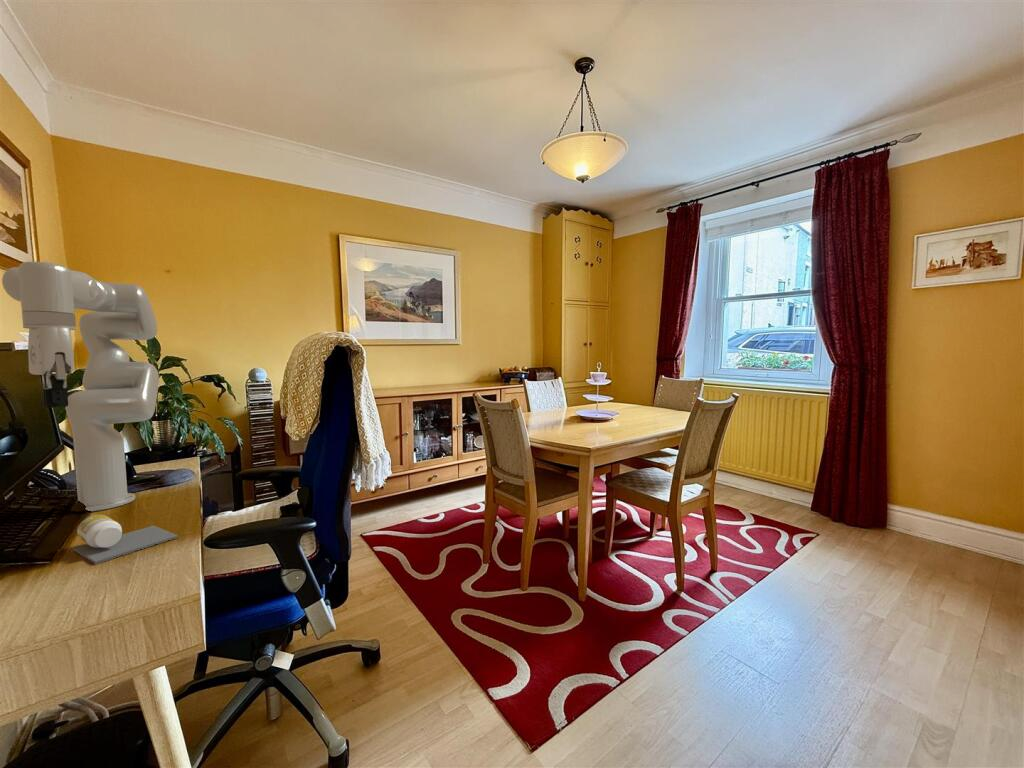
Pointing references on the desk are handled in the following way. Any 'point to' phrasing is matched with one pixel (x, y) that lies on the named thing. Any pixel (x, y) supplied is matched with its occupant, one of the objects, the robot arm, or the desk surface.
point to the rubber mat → (126, 544)
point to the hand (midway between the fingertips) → (56, 406)
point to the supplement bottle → (99, 531)
